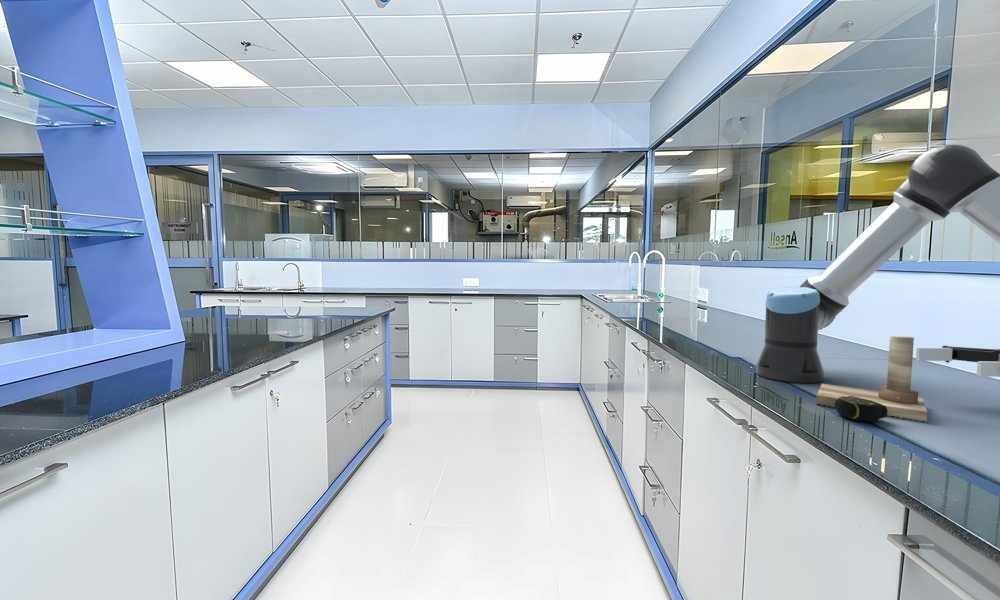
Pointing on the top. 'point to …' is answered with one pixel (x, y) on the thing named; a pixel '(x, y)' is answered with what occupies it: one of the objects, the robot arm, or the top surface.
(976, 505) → the top surface
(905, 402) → the wooden peg with base
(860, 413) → the tape measure
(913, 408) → the board
